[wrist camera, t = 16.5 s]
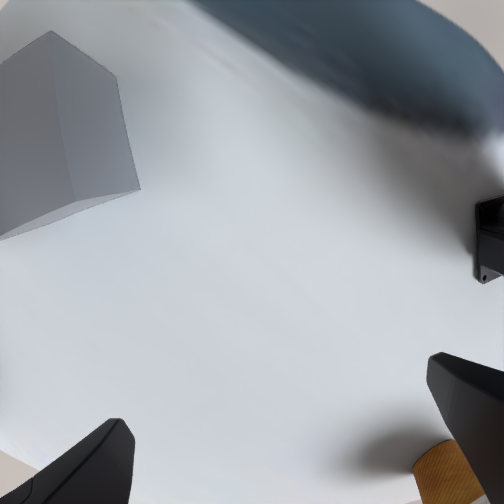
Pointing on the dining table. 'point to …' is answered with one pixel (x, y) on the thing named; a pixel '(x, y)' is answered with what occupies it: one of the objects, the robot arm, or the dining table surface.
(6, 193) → the grey cube
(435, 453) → the disposable coffee cup
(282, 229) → the dining table surface
